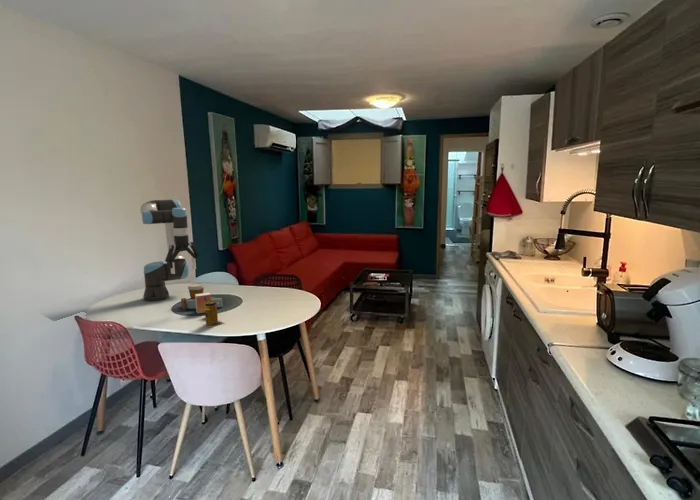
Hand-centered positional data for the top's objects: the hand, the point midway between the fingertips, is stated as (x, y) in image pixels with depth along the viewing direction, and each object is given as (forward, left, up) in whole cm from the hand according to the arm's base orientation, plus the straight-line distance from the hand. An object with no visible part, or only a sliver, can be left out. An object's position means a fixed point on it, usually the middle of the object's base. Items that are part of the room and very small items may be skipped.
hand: (183, 271), depth 222 cm
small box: (+11, +4, -24) cm, 27 cm away
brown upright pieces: (+10, +1, -23) cm, 25 cm away
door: (+7, +7, -23) cm, 25 cm away
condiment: (+33, -5, -24) cm, 41 cm away
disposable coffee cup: (-6, +11, -24) cm, 27 cm away
